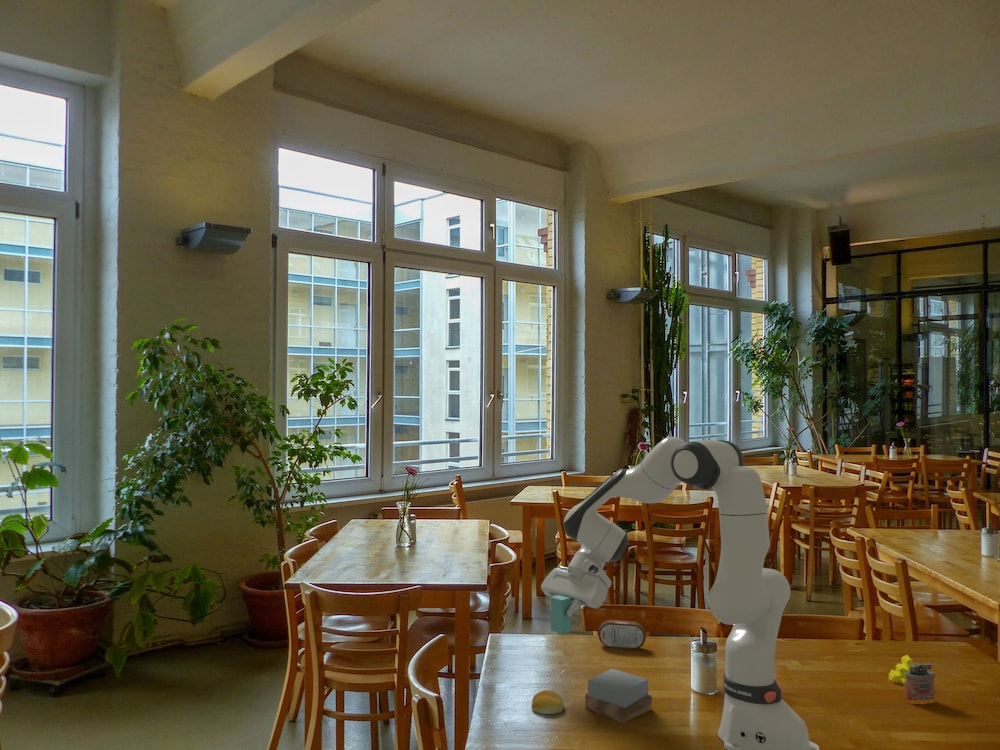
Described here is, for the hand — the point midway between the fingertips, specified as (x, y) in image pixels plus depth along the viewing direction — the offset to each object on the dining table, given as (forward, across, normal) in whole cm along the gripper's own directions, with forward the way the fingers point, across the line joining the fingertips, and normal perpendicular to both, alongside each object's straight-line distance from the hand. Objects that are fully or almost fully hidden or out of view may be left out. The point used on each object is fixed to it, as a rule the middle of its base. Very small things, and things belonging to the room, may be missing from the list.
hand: (559, 612), depth 211 cm
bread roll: (+23, +6, +8) cm, 25 cm away
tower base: (+14, +18, +17) cm, 28 cm away
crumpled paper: (-40, +60, +71) cm, 101 cm away
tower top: (+11, +18, +14) cm, 25 cm away
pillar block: (+3, 0, +4) cm, 5 cm away
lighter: (-32, +68, +62) cm, 98 cm away
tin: (-14, -11, +44) cm, 47 cm away
